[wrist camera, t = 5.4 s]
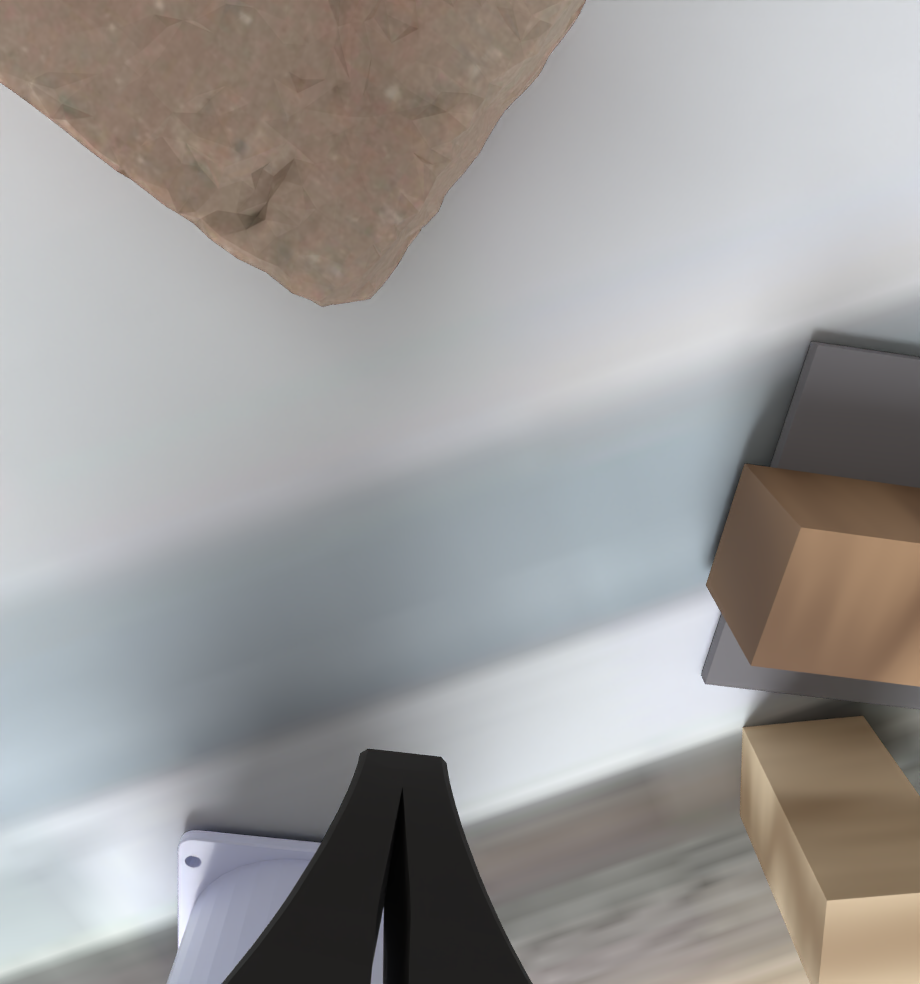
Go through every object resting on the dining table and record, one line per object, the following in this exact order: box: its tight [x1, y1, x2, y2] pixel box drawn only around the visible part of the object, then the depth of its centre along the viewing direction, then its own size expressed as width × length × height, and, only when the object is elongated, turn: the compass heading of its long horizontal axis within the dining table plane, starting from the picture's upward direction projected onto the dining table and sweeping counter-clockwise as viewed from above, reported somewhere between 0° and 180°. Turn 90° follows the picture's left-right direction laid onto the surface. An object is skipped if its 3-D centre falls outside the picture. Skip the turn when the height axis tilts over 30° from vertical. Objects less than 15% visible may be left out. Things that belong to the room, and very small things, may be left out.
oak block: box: [740, 716, 920, 984], centre depth 22 cm, size 4×4×6 cm
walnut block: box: [706, 464, 920, 687], centre depth 19 cm, size 4×4×7 cm
